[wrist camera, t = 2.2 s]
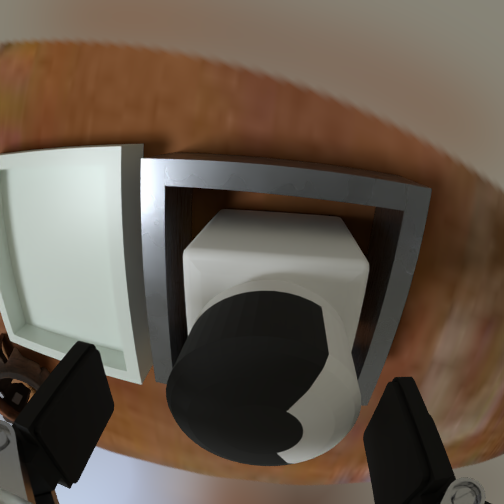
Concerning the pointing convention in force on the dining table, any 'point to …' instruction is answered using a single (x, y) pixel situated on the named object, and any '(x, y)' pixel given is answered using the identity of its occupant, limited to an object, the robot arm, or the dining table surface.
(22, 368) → the broken pottery ring
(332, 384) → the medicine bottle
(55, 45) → the dining table surface
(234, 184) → the holder
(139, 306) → the tray
